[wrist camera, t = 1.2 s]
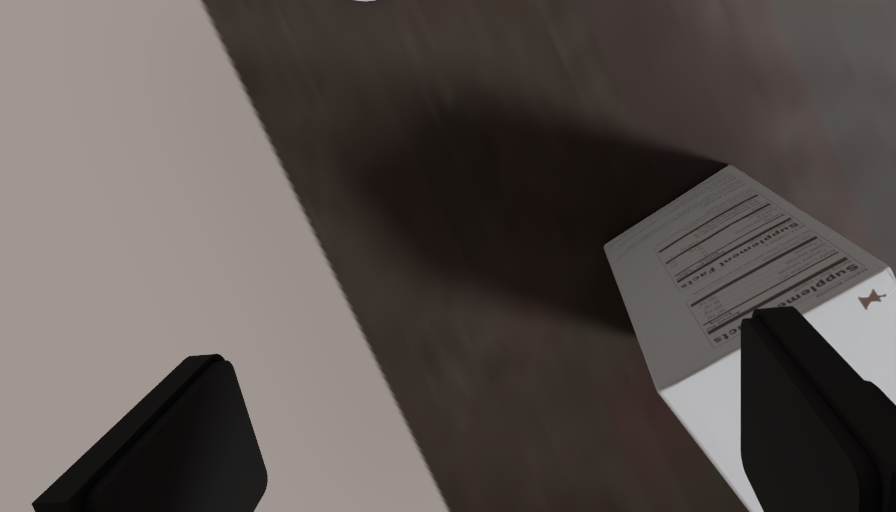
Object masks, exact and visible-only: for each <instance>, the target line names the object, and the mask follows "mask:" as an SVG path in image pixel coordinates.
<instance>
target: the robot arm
mask: <svg viewBox="0 0 896 512" xmlns="http://www.w3.org/2000/svg"><path fill="white" fill-rule="evenodd" d="M740 450H741V460H742V464H743V468H744V471H745V474H746V476H747V478H748V480H749V482H750V484H751V487H752V489H753V491H754V493H755V495H756V497H757V499H758V501H759V503H760V505H761V507H762V509H763V511H764V512H896V405H895V404H894V403H893V402H892V401H891V400H890V399H889V398H888V397H887V396H886V395H885V393H884V392H883V391H882V390H881V389H880V388H879V387H878V386H876V385H875V384H874V383H872V382H871V381H866V380H863V379H862V377H861V376H860V375H859V374H858V373H857V372H856V371H855V370H854V369H853V368H852V367H851V366H850V365H849V364H848V363H847V362H846V361H845V360H844V359H843V357H842V356H841V355H840V354H839V353H838V352H837V351H836V350H835V349H834V348H833V347H832V346H831V345H830V344H829V343H828V342H827V341H826V340H825V339H824V338H823V336H822V335H821V334H820V333H819V332H818V331H817V330H816V329H815V328H814V327H813V326H812V325H811V324H810V323H809V322H808V321H807V320H806V319H805V318H804V316H803V315H802V314H801V313H800V312H799V311H798V310H797V309H796V308H795V307H793V306H786V307H774V308H762V309H755V310H754V311H753V314H752V318H744V319H743V320H742V322H741V446H740ZM266 486H267V471H266V468H265V465H264V461H263V458H262V455H261V452H260V449H259V446H258V443H257V440H256V436H255V433H254V430H253V427H252V424H251V421H250V418H249V415H248V412H247V408H246V405H245V402H244V399H243V396H242V393H241V389H240V387H239V383H238V380H237V377H236V374H235V371H234V368H233V365H232V364H231V363H230V362H229V361H225V359H224V358H223V357H222V356H221V355H219V354H213V355H199V356H189V357H187V358H186V359H185V360H183V361H182V363H180V364H179V366H177V367H176V368H175V369H174V370H173V371H172V372H171V373H170V374H169V375H168V376H167V377H165V379H163V380H162V381H161V382H160V383H159V384H158V385H157V386H156V387H155V388H154V389H153V390H152V391H151V392H150V393H148V394H147V395H146V396H145V397H144V398H143V399H142V400H141V401H140V402H139V403H138V404H137V405H136V406H135V407H134V408H133V409H132V410H130V411H129V412H128V413H127V414H126V415H125V416H124V417H123V418H122V419H121V420H120V421H119V422H118V423H117V424H116V425H115V426H113V428H111V429H110V430H109V431H108V432H107V433H106V434H105V435H104V436H103V437H102V438H101V439H100V440H99V441H98V442H97V443H95V444H94V445H93V446H92V447H91V448H90V449H89V450H88V451H87V452H86V453H85V454H84V455H83V456H82V457H81V458H80V459H79V460H77V461H76V462H75V463H74V464H73V465H72V466H71V467H70V468H69V469H68V470H67V471H66V472H65V473H64V474H63V475H62V476H60V477H59V478H58V479H57V480H56V481H55V482H54V483H53V484H52V485H51V486H50V487H49V488H48V489H47V490H46V491H45V492H44V493H42V494H41V495H40V496H39V497H38V498H37V499H36V500H35V501H34V502H33V503H32V506H33V507H34V510H35V512H254V510H255V508H256V506H257V505H258V503H259V501H260V500H261V498H262V496H263V494H264V492H265V490H266Z"/></svg>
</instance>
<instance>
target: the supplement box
mask: <svg viewBox="0 0 896 512" xmlns="http://www.w3.org/2000/svg"><path fill="white" fill-rule="evenodd" d="M604 250H605V253H606V256H607V259H608V261H609V264H610V266H611V269H612V272H613V274H614V277H615V280H616V282H617V285H618V288H619V290H620V293H621V296H622V298H623V301H624V304H625V306H626V309H627V312H628V314H629V317H630V320H631V322H632V325H633V328H634V330H635V333H636V336H637V339H638V341H639V344H640V347H641V349H642V352H643V355H644V357H645V360H646V363H647V366H648V368H649V371H650V374H651V377H652V379H653V382H654V384H655V387H656V390H657V392H658V394H659V395H660V396H661V397H662V399H663V400H664V401H665V402H666V404H667V405H668V406H669V408H670V409H671V410H672V411H673V413H674V414H675V415H676V417H677V418H678V419H679V421H680V422H681V423H682V424H683V426H684V427H685V428H686V430H687V431H688V432H689V434H690V435H691V436H692V437H693V439H694V440H695V441H696V443H697V444H698V445H699V447H700V448H701V449H702V450H703V452H704V453H705V454H706V456H707V457H708V458H709V460H710V461H711V462H712V463H713V465H714V466H715V467H716V469H717V470H718V471H719V473H720V474H721V475H722V476H723V478H724V479H725V480H726V482H727V483H728V484H729V486H730V487H731V488H732V490H733V491H734V492H735V493H736V495H737V496H738V497H739V499H740V500H741V501H742V503H743V504H744V505H745V506H746V508H747V509H748V510H749V512H764V511H763V509H762V507H761V505H760V503H759V501H758V499H757V497H756V495H755V493H754V491H753V489H752V487H751V484H750V482H749V480H748V478H747V476H746V474H745V471H744V468H743V464H742V460H741V450H740V446H741V322H742V320H743V319H744V318H752V314H753V311H754V310H755V309H762V308H774V307H786V306H793V307H795V308H796V309H797V310H798V311H799V312H800V313H801V314H802V315H803V316H804V318H805V319H806V320H807V321H808V322H809V323H810V324H811V325H812V326H813V327H814V328H815V329H816V330H817V331H818V332H819V333H820V334H821V335H822V336H823V338H824V339H825V340H826V341H827V342H828V343H829V344H830V345H831V346H832V347H833V348H834V349H835V350H836V351H837V352H838V353H839V354H840V355H841V356H842V357H843V359H844V360H845V361H846V362H847V363H848V364H849V365H850V366H851V367H852V368H853V369H854V370H855V371H856V372H857V373H858V374H859V375H860V376H861V377H862V379H863V380H866V381H871V382H872V383H874V384H875V385H876V386H878V387H879V388H880V389H881V390H882V391H883V392H884V393H885V395H886V396H887V397H888V398H889V399H890V400H891V401H892V402H893V403H894V404H895V405H896V279H895V277H894V275H893V273H892V270H891V268H890V267H889V266H888V265H886V264H885V263H883V262H881V261H880V260H878V259H877V258H875V257H874V256H872V255H871V254H869V253H868V252H866V251H864V250H863V249H861V248H860V247H858V246H857V245H855V244H853V243H852V242H850V241H849V240H847V239H846V238H844V237H843V236H841V235H840V234H838V233H836V232H835V231H833V230H832V229H830V228H829V227H827V226H825V225H824V224H822V223H820V222H819V221H817V220H816V219H814V218H812V217H811V216H809V215H808V214H806V213H804V212H803V211H801V210H800V209H798V208H797V207H795V206H794V205H792V204H791V203H789V202H788V201H786V200H785V199H783V198H781V197H780V196H778V195H777V194H776V193H774V192H772V191H771V190H769V189H768V188H766V187H765V186H763V185H761V184H760V183H758V182H757V181H755V180H754V179H752V178H751V177H749V176H747V175H746V174H745V173H743V172H741V171H740V170H738V169H737V168H735V167H733V166H732V165H729V166H727V167H725V168H723V169H722V170H720V171H719V172H717V173H716V174H714V175H712V176H711V177H709V178H708V179H706V180H705V181H703V182H702V183H700V184H698V185H697V186H695V187H694V188H692V189H691V190H689V191H688V192H686V193H684V194H683V195H681V196H680V197H678V198H677V199H675V200H674V201H672V202H671V203H669V204H667V205H666V206H664V207H663V208H661V209H660V210H658V211H656V212H655V213H653V214H652V215H650V216H649V217H647V218H645V219H644V220H642V221H641V222H639V223H638V224H636V225H634V226H633V227H631V228H630V229H628V230H627V231H625V232H624V233H622V234H620V235H619V236H617V237H616V238H614V239H613V240H611V241H610V242H608V243H606V244H605V245H604Z"/></svg>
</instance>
